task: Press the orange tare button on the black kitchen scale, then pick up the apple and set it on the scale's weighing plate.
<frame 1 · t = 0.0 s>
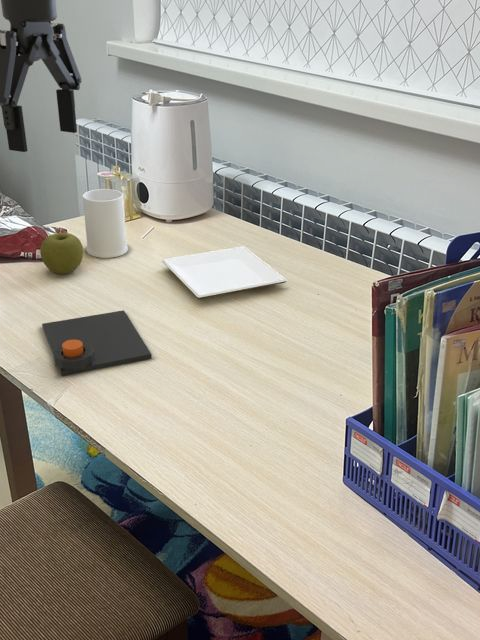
hand: (44, 140, 109), 29 cm above the table, tool pointing down, fingers open, 13 cm apart
plate: (223, 279, 136), on the table
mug: (108, 248, 147), on the table
scale: (95, 343, 112), on the table
apple: (64, 271, 136), on the table
tare button: (72, 348, 105), point 3 cm above the table, slide at 0.1 cm
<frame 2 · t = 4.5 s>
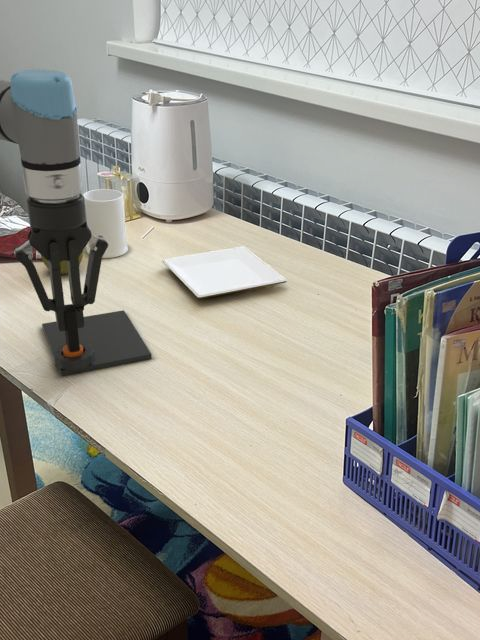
hand: (73, 346, 105), 3 cm above the table, tool pointing down, fingers closed
tare button: (73, 352, 105), point 2 cm above the table, slide at -0.5 cm, touching gripper
everything else where it was.
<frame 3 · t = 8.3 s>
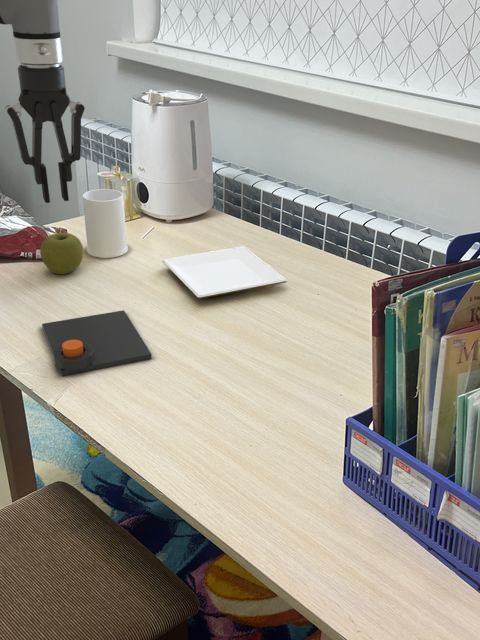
hand: (55, 199, 129), 15 cm above the table, tool pointing down, fingers open, 3 cm apart
tare button: (72, 348, 105), point 3 cm above the table, slide at 0.1 cm
everything else where it was.
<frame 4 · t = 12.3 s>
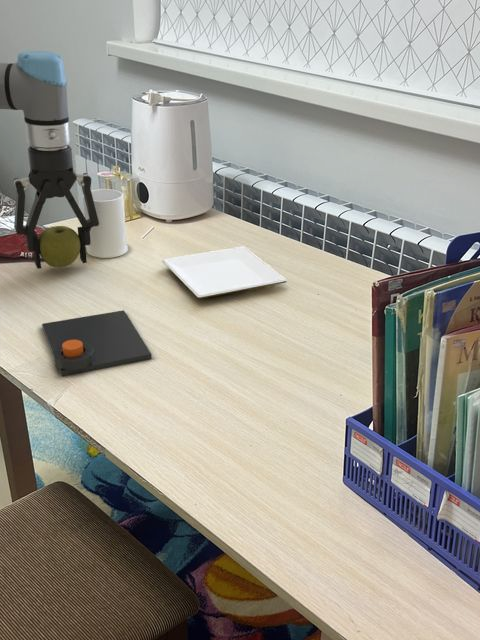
hand: (61, 263, 135), 2 cm above the table, tool pointing down, fingers closed on apple, 8 cm apart
apple: (61, 265, 135), point 1 cm above the table, touching gripper
everything else where it was.
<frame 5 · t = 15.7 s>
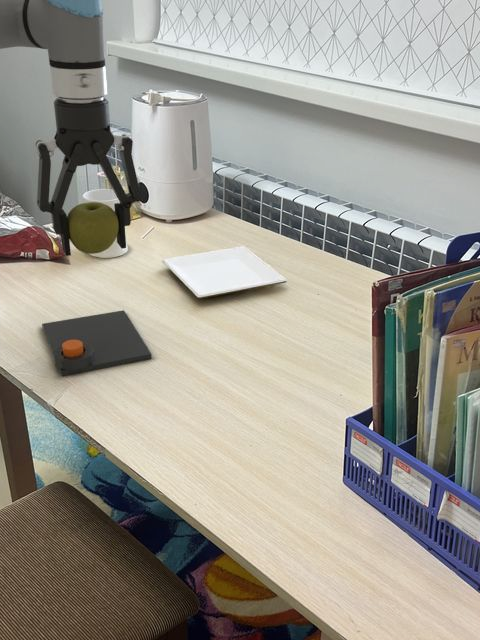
hand: (94, 248, 109), 15 cm above the table, tool pointing down, fingers closed on apple, 8 cm apart
apple: (94, 251, 109), point 14 cm above the table, touching gripper
everything else where it was.
when the fingers open (2 cm above the table, at t = 19.3 s): apple stays where it is, resting on scale.
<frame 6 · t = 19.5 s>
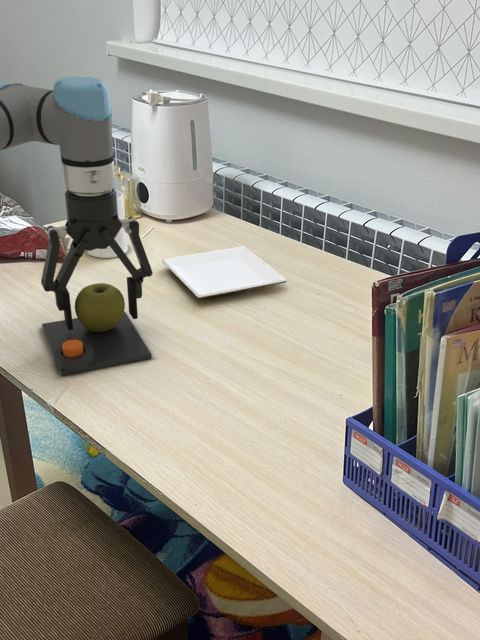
hand: (101, 320, 114), 2 cm above the table, tool pointing down, fingers open, 10 cm apart
apple: (101, 328, 115), point 1 cm above the table, touching scale
everything else where it was.
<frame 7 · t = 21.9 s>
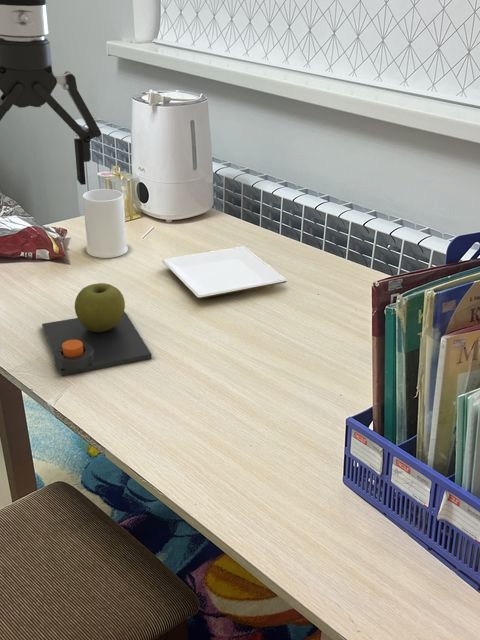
hand: (37, 185, 108), 23 cm above the table, tool pointing down, fingers open, 13 cm apart
nothing on the table moved.
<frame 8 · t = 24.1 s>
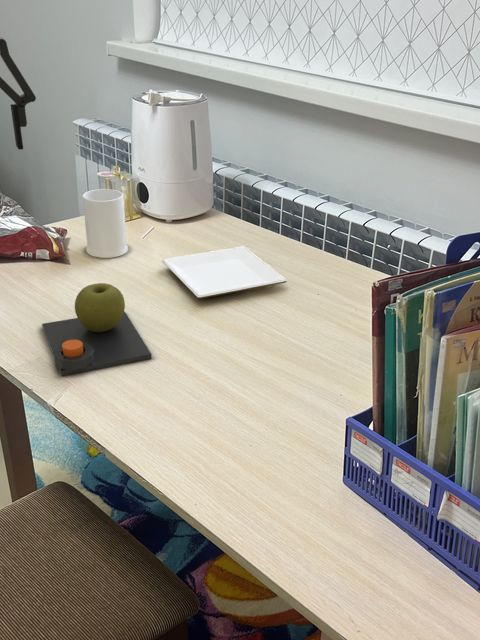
nothing on the table moved.
at the end: tare button pushed in 0.8 cm at the most during the clip, back to where it started at the end; tare button slide at 0.1 cm; apple inside the target area on the scale (3.6 cm from its centre), point 0.7 cm above the scale's base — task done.
